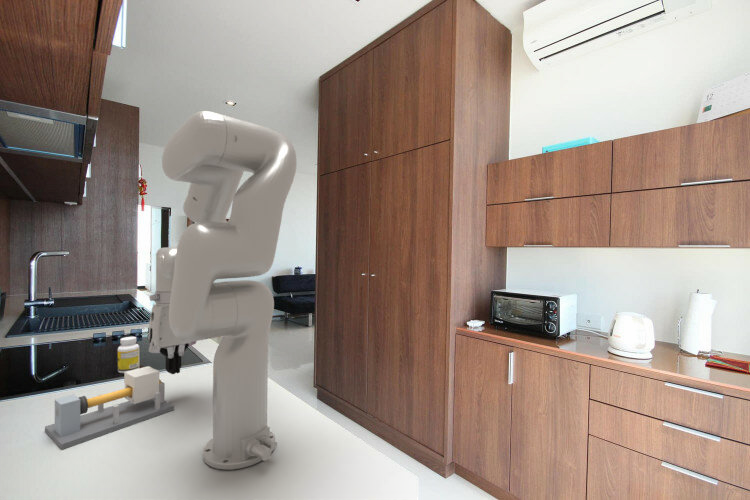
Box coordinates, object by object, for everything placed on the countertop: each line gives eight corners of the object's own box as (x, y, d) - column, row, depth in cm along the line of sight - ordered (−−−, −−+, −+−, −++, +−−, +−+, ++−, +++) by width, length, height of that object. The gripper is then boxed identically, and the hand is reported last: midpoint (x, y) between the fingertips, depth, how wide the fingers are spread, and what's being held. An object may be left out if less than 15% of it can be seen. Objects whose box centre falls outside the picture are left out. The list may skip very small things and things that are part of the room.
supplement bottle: (121, 368, 109) (121, 336, 109) (141, 366, 111) (142, 335, 111) (114, 374, 104) (114, 341, 104) (135, 372, 106) (136, 339, 106)
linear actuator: (152, 397, 88) (152, 368, 88) (173, 409, 82) (174, 378, 82) (44, 431, 72) (45, 396, 72) (61, 449, 66) (61, 411, 66)
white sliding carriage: (148, 390, 85) (148, 366, 85) (159, 396, 82) (159, 371, 82) (124, 397, 81) (124, 372, 81) (134, 404, 78) (134, 377, 78)
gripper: (146, 303, 79) (146, 385, 79) (211, 295, 91) (210, 367, 91) (132, 299, 83) (132, 377, 83) (196, 293, 95) (195, 361, 95)
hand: (173, 372), depth 87 cm, fingers closed
